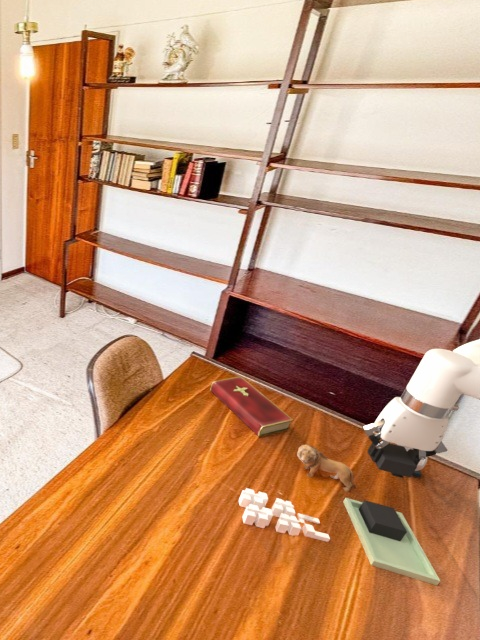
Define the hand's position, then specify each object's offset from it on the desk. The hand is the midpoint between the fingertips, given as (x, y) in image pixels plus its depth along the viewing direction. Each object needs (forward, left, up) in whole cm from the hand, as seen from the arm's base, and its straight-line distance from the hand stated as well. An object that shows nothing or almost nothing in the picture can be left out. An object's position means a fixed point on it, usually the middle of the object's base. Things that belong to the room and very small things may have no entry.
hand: (389, 461), depth 92 cm
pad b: (0, 0, -1) cm, 1 cm away
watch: (-13, -14, -15) cm, 24 cm away
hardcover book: (+23, -26, -15) cm, 38 cm away
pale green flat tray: (0, +10, -14) cm, 17 cm away
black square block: (0, +6, -14) cm, 15 cm away
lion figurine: (+9, -4, -15) cm, 18 cm away
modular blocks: (+22, +13, -15) cm, 29 cm away
